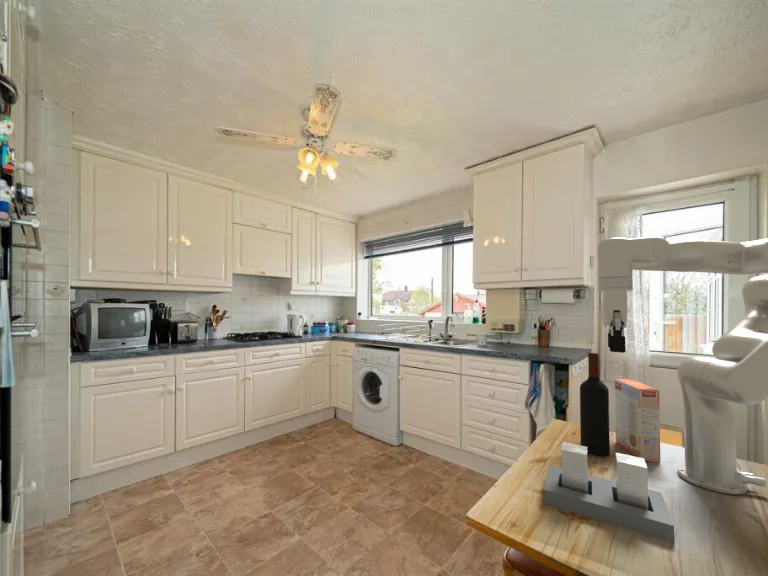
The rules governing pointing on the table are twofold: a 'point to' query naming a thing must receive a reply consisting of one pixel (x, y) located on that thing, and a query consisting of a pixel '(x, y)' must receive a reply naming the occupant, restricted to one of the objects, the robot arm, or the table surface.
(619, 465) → the loose billet
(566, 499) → the tray
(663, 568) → the table surface
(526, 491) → the table surface
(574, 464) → the block
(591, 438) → the wine bottle
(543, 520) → the table surface
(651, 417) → the cracker box
